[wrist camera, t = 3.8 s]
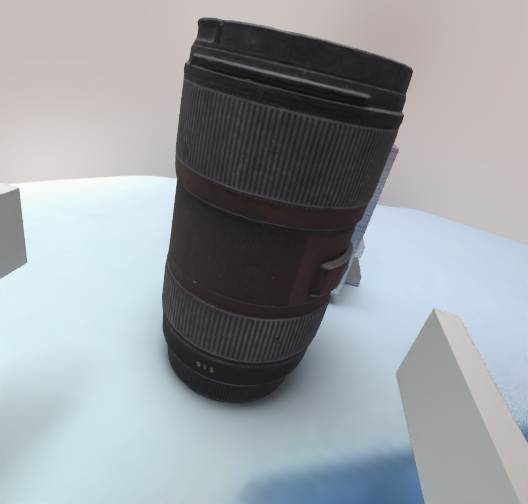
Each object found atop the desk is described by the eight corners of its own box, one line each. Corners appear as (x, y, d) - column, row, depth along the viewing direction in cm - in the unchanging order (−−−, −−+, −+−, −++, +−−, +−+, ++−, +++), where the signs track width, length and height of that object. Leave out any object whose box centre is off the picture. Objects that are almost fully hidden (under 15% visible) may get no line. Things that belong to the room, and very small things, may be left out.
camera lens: (267, 299, 24) (338, 58, 17) (326, 398, 18) (477, 84, 11) (145, 307, 21) (171, 9, 14) (166, 434, 15) (235, 5, 7)
